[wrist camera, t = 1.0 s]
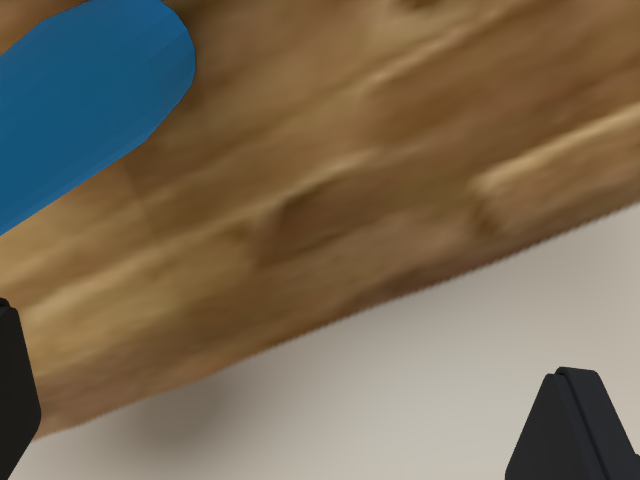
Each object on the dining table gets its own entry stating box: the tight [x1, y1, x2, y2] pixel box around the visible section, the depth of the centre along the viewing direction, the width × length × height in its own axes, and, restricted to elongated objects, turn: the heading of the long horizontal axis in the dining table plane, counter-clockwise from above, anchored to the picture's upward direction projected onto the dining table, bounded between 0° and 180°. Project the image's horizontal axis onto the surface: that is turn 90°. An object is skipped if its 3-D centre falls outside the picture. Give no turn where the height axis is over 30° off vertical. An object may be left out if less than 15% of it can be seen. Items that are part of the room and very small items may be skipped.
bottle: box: [0, 0, 196, 236], centre depth 23 cm, size 7×7×30 cm
